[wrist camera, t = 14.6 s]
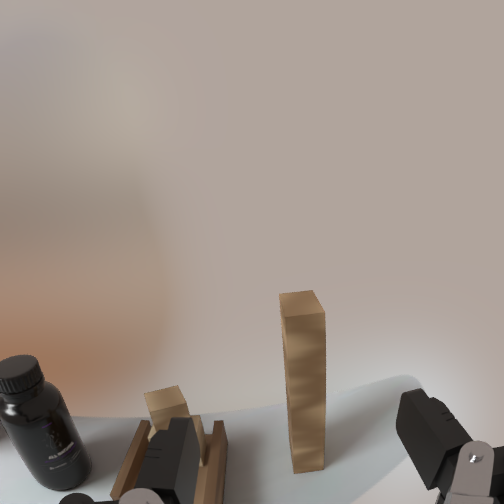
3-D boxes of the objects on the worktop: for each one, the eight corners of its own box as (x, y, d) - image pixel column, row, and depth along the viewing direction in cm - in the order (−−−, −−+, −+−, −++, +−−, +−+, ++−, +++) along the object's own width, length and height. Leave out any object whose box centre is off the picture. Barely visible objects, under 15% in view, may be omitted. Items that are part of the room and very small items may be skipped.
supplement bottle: (86, 496, 19) (25, 388, 17) (26, 487, 18) (-35, 383, 16) (99, 448, 26) (58, 347, 23) (46, 445, 25) (2, 349, 22)
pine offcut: (158, 465, 23) (147, 438, 22) (165, 442, 26) (156, 415, 25) (203, 466, 23) (194, 439, 22) (206, 442, 26) (199, 415, 25)
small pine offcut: (159, 439, 22) (149, 412, 21) (152, 420, 25) (143, 393, 24) (193, 430, 23) (186, 402, 23) (184, 412, 26) (177, 385, 25)
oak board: (294, 473, 22) (284, 317, 20) (289, 440, 27) (278, 294, 24) (323, 469, 22) (324, 312, 20) (315, 437, 27) (312, 290, 24)
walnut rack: (123, 515, 18) (109, 495, 17) (149, 441, 27) (141, 420, 27) (221, 523, 17) (214, 504, 17) (227, 442, 27) (223, 420, 27)
